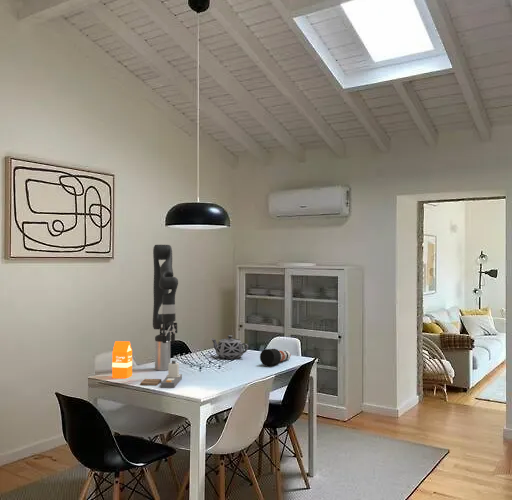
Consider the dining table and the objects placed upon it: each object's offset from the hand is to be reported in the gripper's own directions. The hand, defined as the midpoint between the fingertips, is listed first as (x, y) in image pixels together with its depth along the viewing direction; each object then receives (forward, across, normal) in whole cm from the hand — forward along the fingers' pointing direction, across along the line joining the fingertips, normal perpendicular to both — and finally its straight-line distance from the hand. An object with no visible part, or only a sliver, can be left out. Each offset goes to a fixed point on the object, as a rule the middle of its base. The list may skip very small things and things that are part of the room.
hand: (168, 342), depth 306 cm
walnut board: (+21, +12, -4) cm, 24 cm away
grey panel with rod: (+21, +3, +5) cm, 21 cm away
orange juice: (+20, +5, -28) cm, 35 cm away
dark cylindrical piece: (+20, -74, +36) cm, 85 cm away
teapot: (+18, -77, -2) cm, 79 cm away
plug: (+18, +2, +4) cm, 19 cm away
